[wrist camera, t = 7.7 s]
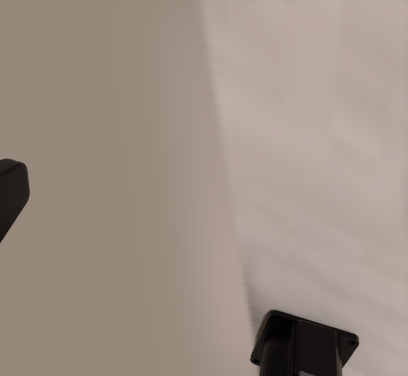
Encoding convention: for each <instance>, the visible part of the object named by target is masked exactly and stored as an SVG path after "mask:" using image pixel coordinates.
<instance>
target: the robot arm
mask: <svg viewBox="0 0 408 376" xmlns="http://www.w3.org/2000/svg"><path fill="white" fill-rule="evenodd" d="M29 195H30V190H29V181H28V171H27V167H26V165H25V164H24V163H22V162H19V161H15V160H12V159H2V160H0V243H1V241H2V240H3V238H4V237H5V235H6V234H7V232H8V231H9V229H10V227H11V226H12V224H13V223H14V221H15V220H16V218H17V217H18V215H19V214H20V212H21V211H22V209H23V208H24V206H25V205H26V203H27V201H28V199H29ZM276 317H277V318H276ZM358 345H359V338H358V336H357V335H355V334H352V333H349V332H345V331H342V330H339V329H336V328H332V327H329V326H326V325H322V324H319V323H316V322H313V321H309V320H306V319H303V318H299V317H296V316H293V315H290V314H286V313H283V312H280V311H271V312H270V313H269V315H268V317H267V319H266V322H265V324H264V326H263V329H262V331H261V333H260V335H259V338H258V340H257V342H256V345H255V347H254V349H253V352H252V354H251V359H250V361H251V362H252V363H253V364H255V365H258V366H260V374H259V376H342V368H343V367H344V365H345V364H346V362H347V361H348V360H349V358H350V357H351V355H352V354H353V352H354V351H355V350H356V348H357V347H358Z"/></svg>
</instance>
